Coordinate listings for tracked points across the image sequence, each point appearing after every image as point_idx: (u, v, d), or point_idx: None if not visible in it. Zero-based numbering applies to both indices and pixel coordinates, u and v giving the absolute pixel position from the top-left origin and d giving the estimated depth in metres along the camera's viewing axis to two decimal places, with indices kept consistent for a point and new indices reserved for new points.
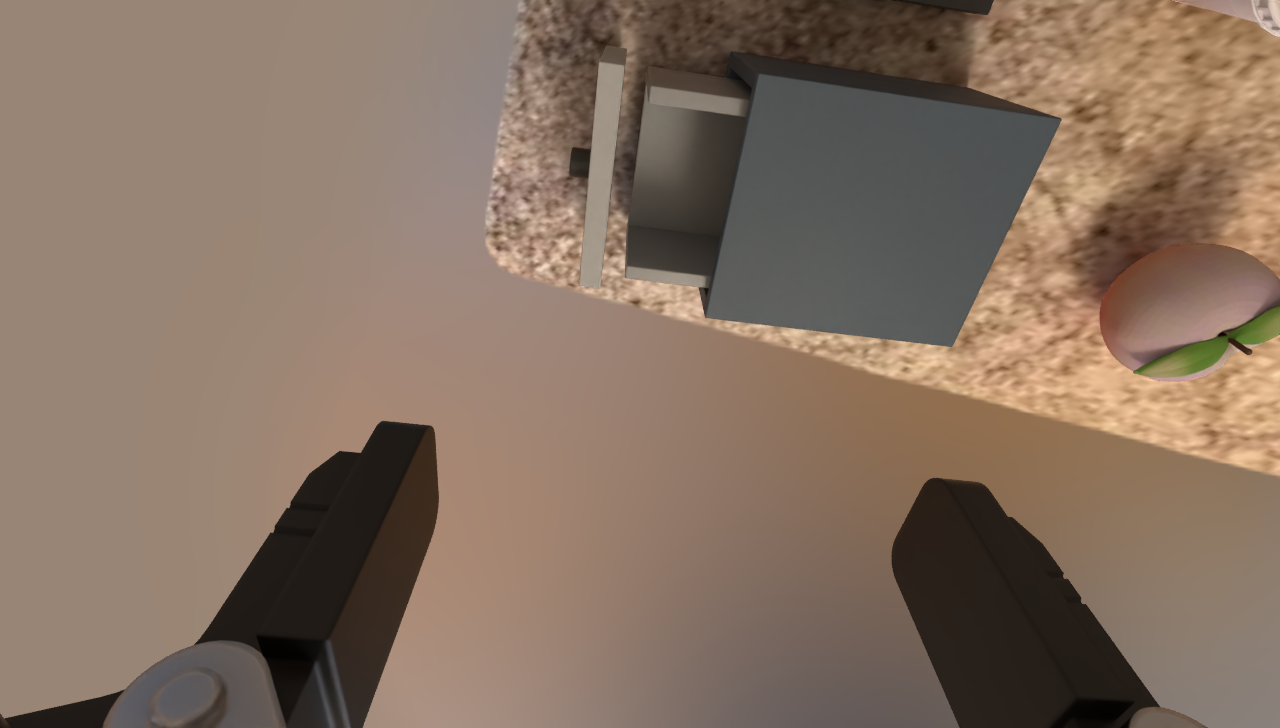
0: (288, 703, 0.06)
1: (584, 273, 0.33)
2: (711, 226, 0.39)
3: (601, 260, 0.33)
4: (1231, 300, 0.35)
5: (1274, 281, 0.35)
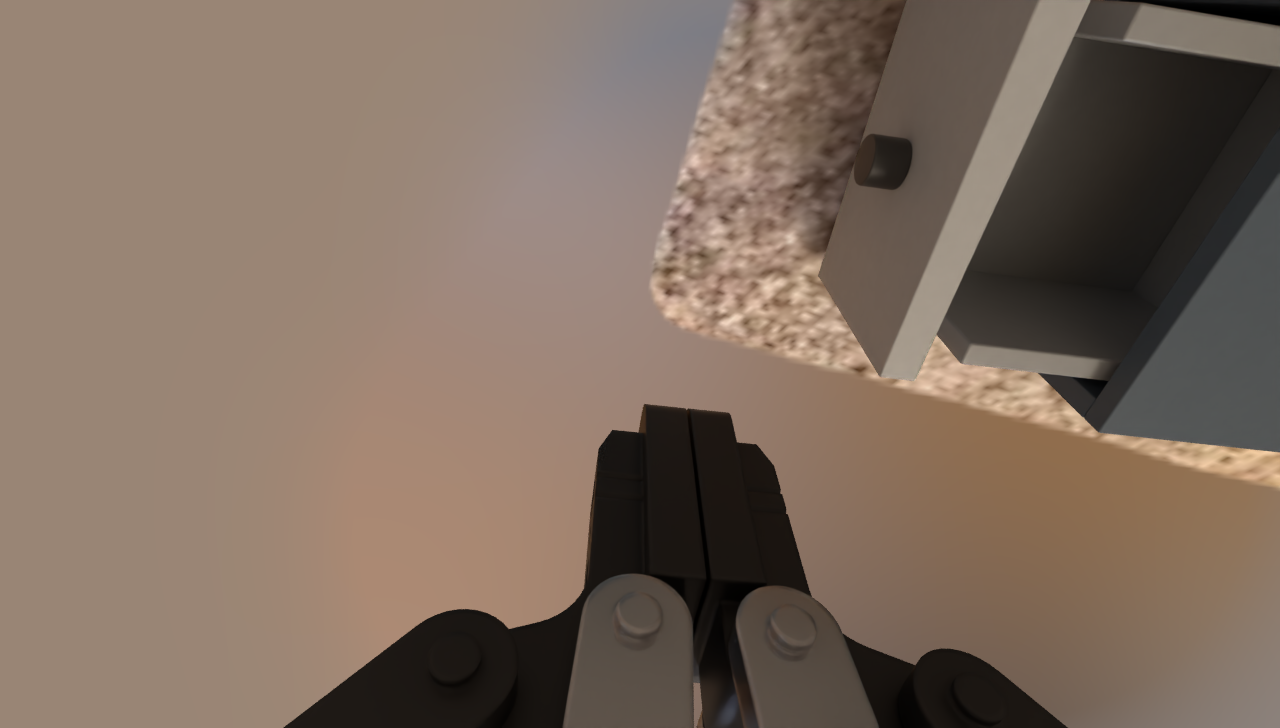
0: None
1: (895, 357, 0.19)
2: (1028, 262, 0.24)
3: (933, 335, 0.18)
4: None
5: None
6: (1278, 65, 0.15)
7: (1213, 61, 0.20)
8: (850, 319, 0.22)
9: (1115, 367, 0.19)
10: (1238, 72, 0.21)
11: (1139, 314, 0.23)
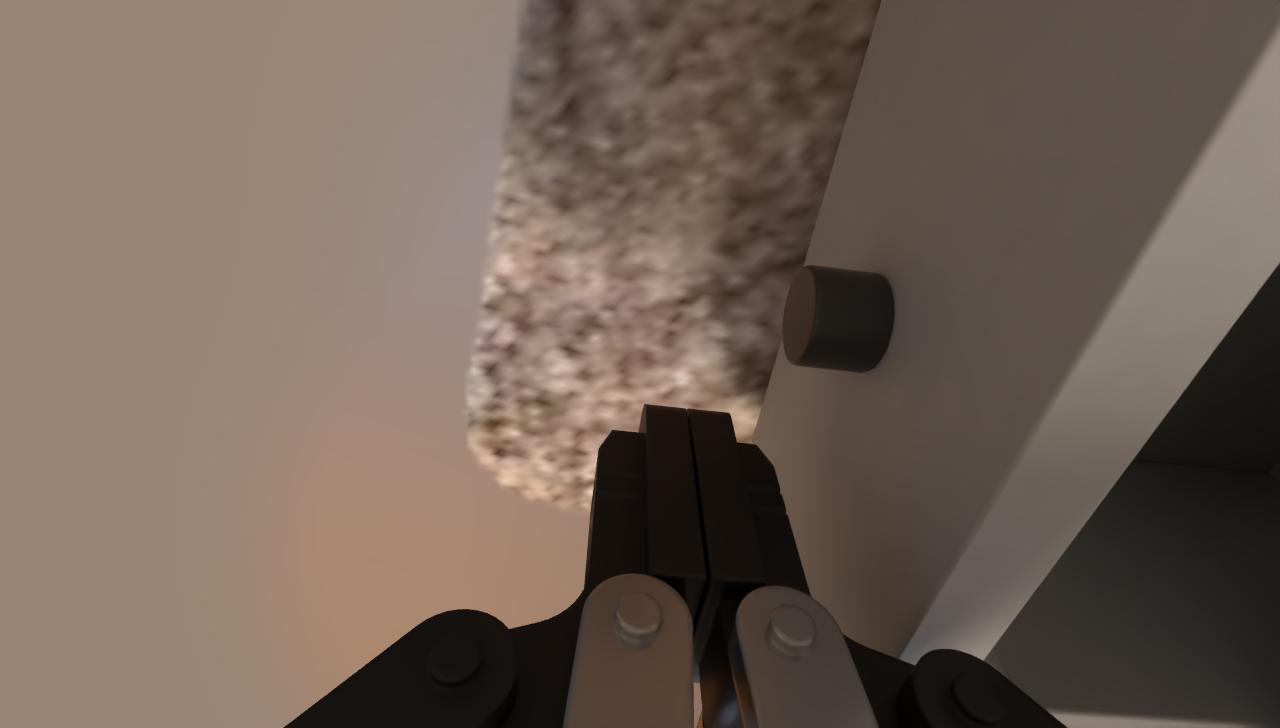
0: None
1: None
2: None
3: None
4: None
5: None
6: None
7: None
8: None
9: None
10: None
11: None
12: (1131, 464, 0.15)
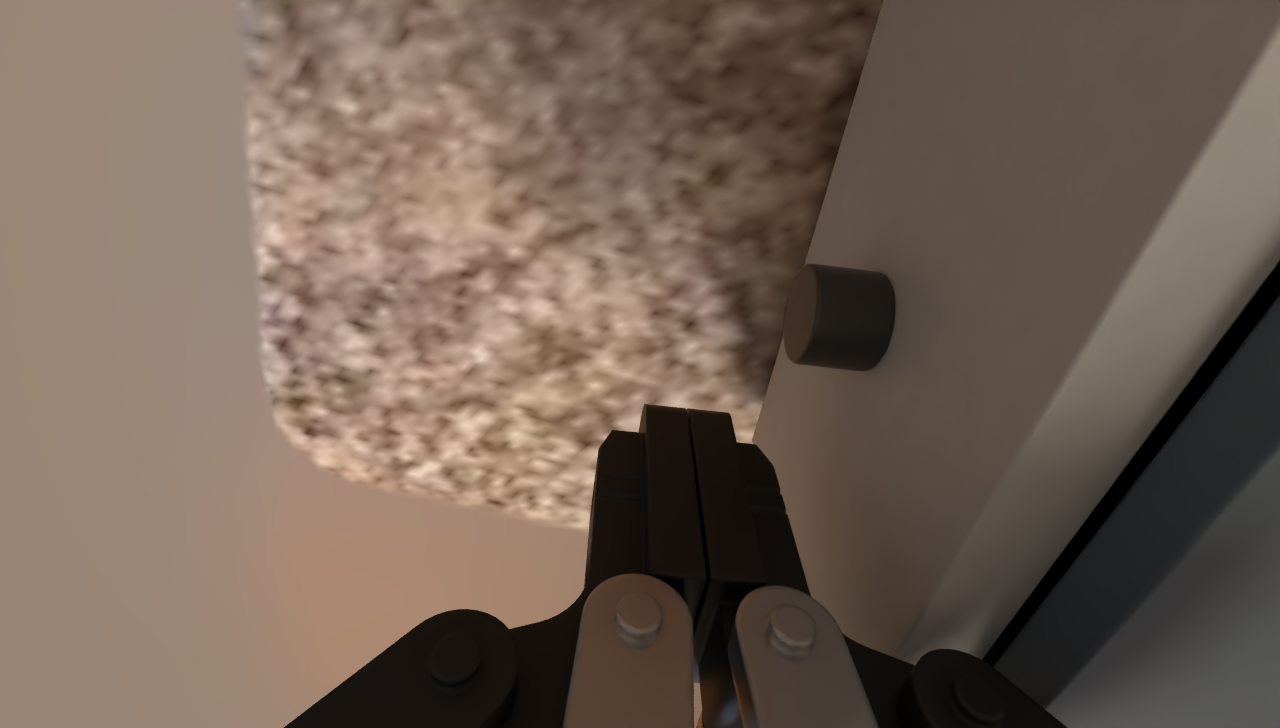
0: None
1: None
2: None
3: None
4: None
5: None
6: None
7: None
8: None
9: None
10: None
11: None
12: (1131, 465, 0.15)
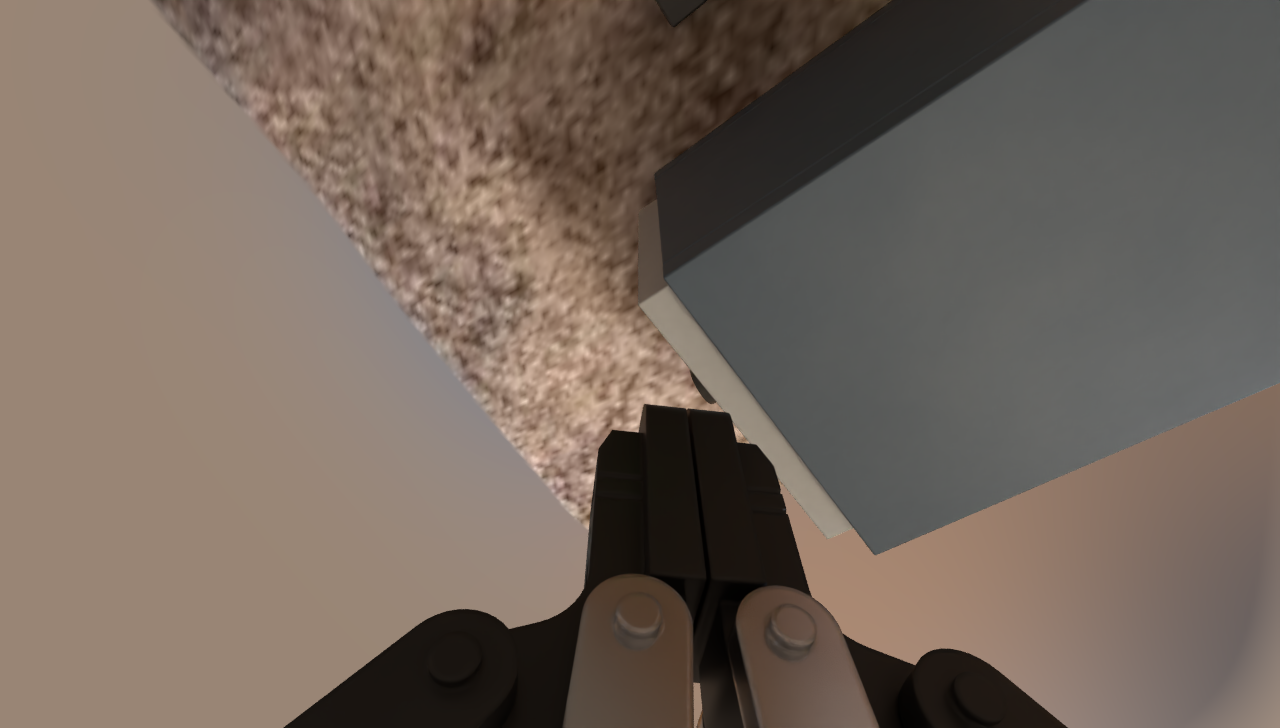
0: None
1: (823, 523, 0.21)
2: None
3: None
4: None
5: None
6: None
7: None
8: None
9: None
10: None
11: None
12: None
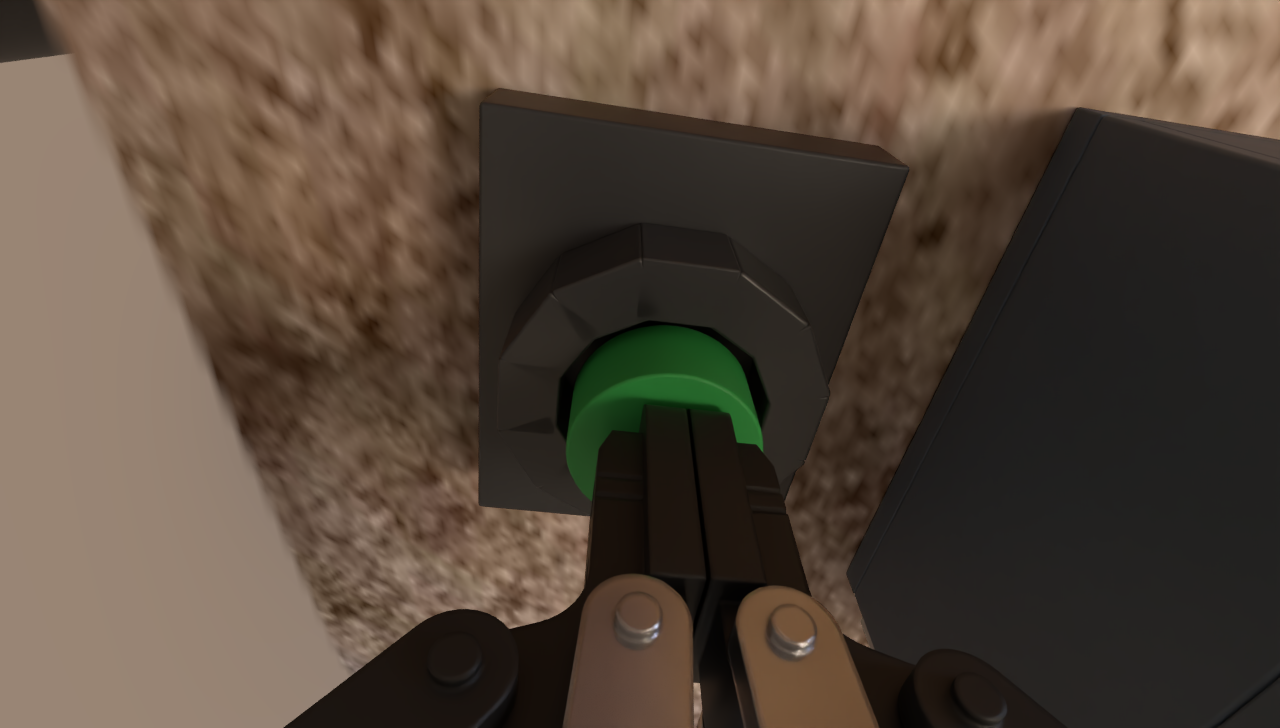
0: None
1: None
2: None
3: None
4: None
5: None
6: None
7: None
8: None
9: None
10: None
11: None
12: None
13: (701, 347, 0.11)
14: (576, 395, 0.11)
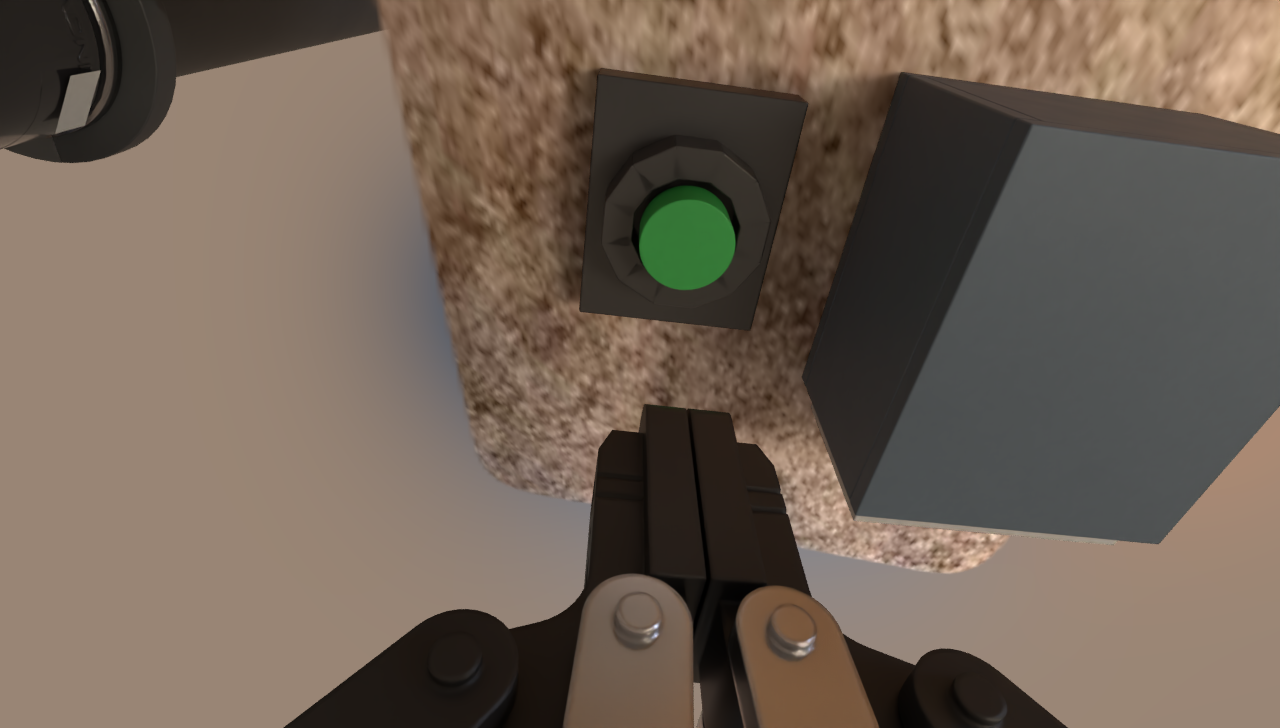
0: None
1: (1099, 539, 0.25)
2: None
3: None
4: None
5: None
6: None
7: None
8: None
9: None
10: None
11: None
12: None
13: (705, 193, 0.23)
14: (643, 220, 0.23)
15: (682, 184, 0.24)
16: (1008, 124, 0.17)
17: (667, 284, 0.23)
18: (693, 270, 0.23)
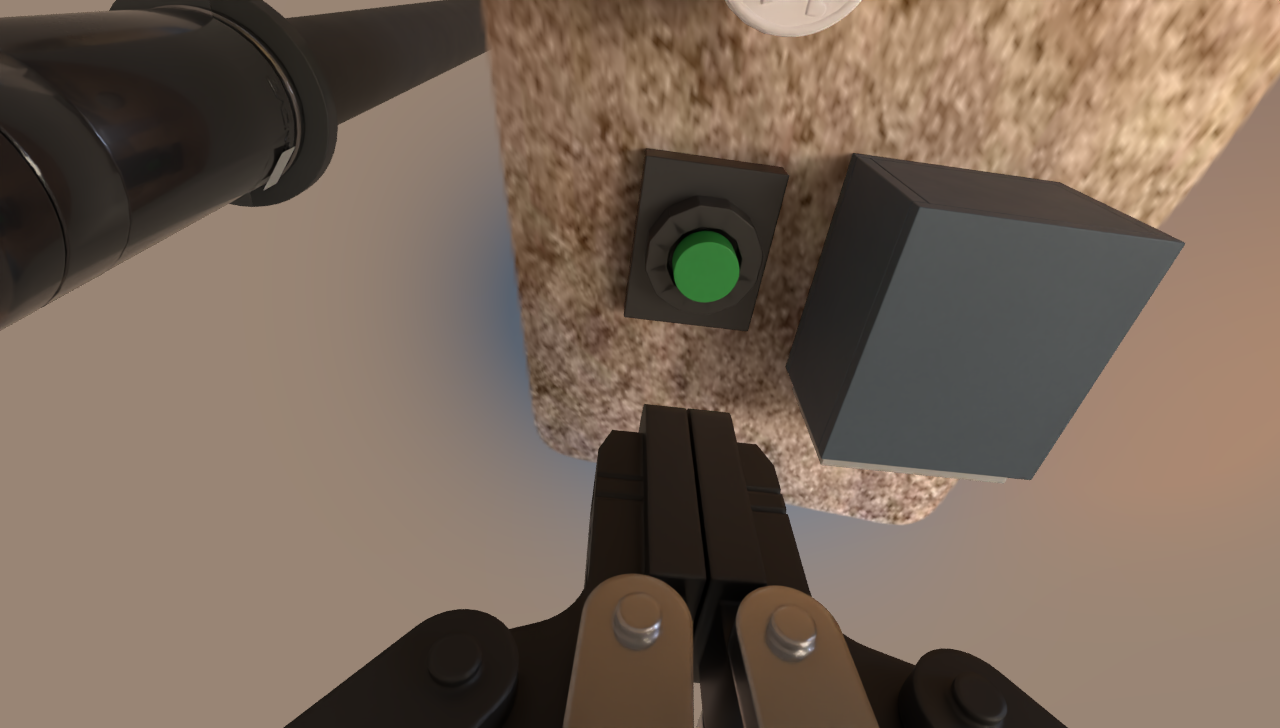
0: None
1: (993, 479, 0.36)
2: None
3: None
4: None
5: None
6: None
7: None
8: None
9: None
10: None
11: None
12: None
13: (718, 236, 0.33)
14: (676, 254, 0.33)
15: (701, 228, 0.35)
16: (908, 204, 0.27)
17: (692, 298, 0.34)
18: (710, 289, 0.33)
